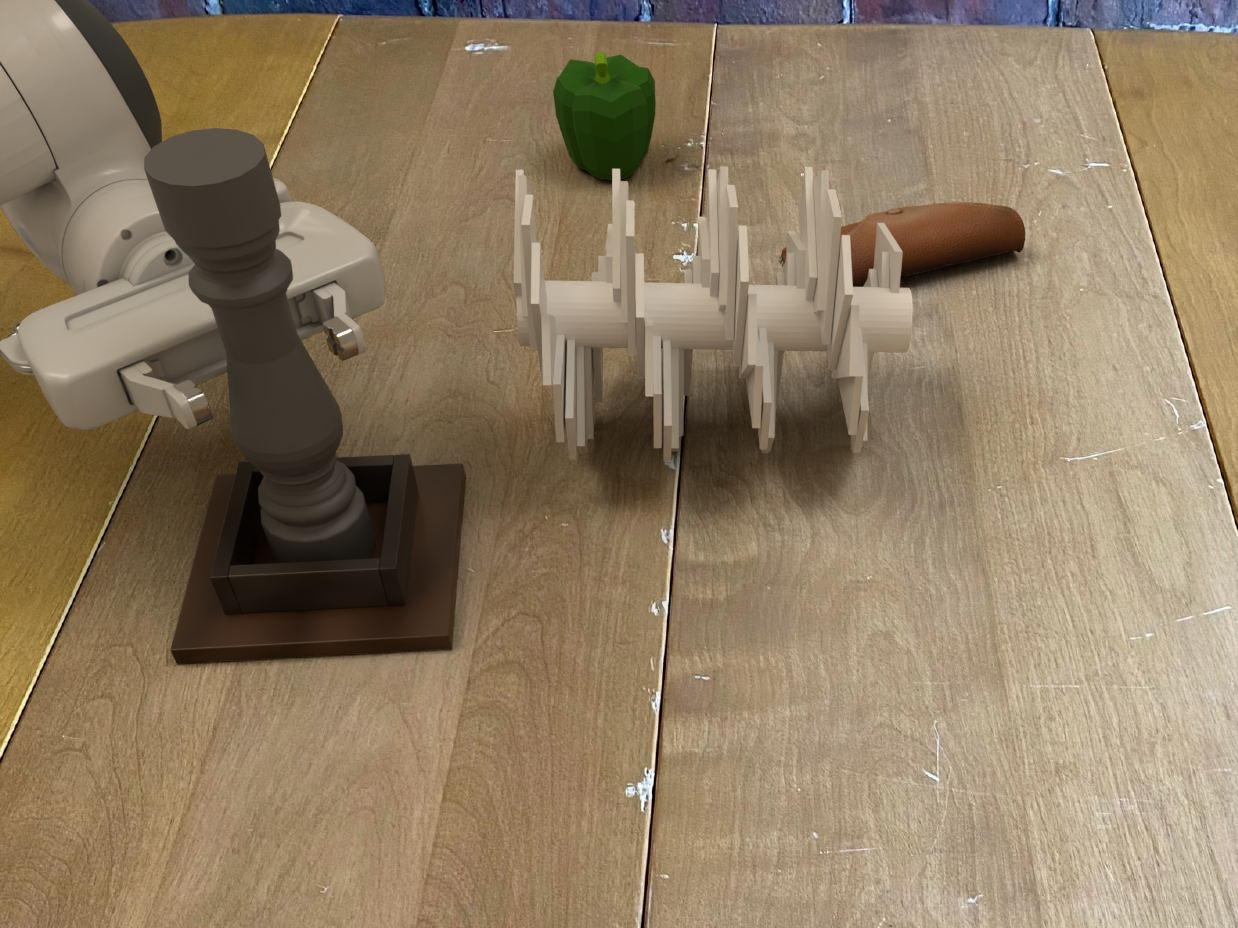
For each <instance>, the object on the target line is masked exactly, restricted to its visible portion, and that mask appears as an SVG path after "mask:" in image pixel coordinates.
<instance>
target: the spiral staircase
mask: <svg viewBox="0 0 1238 928" xmlns="http://www.w3.org/2000/svg"><path fill="white" fill-rule="evenodd" d="M707 171H708V172H707V173H708V174H707V193H706V210H705V211H706V213H705V216H698V218H697V221H698V223H697V255H693V256H692V263H691V268H690V269H684V274H683V275H684V276H683V282H647V281H646V282H645V252H644V253H640V252H638V253H637V252H636V221H635V220H636V216H635V215H636V213H635V210H636V209H635V200H629V199H630V195H629V193H630V192H629V190H630V189H629V186H630V185H629V182H628V180H621V179H620V169H612V180H611V181H612V182H611V185H612V189H611V191H612V192H611V195H612V197H611V199H612V202H611V204H612V207H611V208H612V215H611V216H612V218H611V219H612V220H611V222H612V223H607V231H606V242H605V243H606V244H605V255H598V257H597V258H598V259H597V265H598V266H597V267H598V269H597V270H598V271H591V275H590V276H591V279H590V280H591V281H590V280H589V281H588V280H550V279H549V280H546V279H545V278H546V277H545V270H544V263H543V254H542V247H541V242H537V229H536V212H535V199H534V198H535V197H534V194H533V187H532V186H533V184H532V182H531V181H530V179H529V177H528V176H527V175H525V170H524V169H515V186H514V187H515V189H514V190H515V191H514V236H513V237H514V242H513V288H514V294H515V301H516V327H517V328H516V329H517V336H518V344H519V347H529V351H531V352H537V356H538V360H539V361H538V363H539V369H540V375H541V376H542V386H552V394H553V397H552V398H553V412H554V413H553V415H554V428H555V442H556V443H565V435H566V442H567V453H568V454H567V455H568V459H569V460H577V456H578V454H577V451H578V452H579V455H580V456H588V450H589V449H588V447H589V446H588V440H594V436H595V422H596V408H595V407H596V404H595V403H603V402H604V401H603V400H604V399H603V397H604V396H603V395H604V391H603V389H604V350H603V348H604V349H605V348H608V349H609V348H610V349H627V355H628V357H632V356H633V357H636V378H637V379H644V381H645V382H644V383H645V384H644V386H645V389H644V392H645V393H644V394H645V397H652V398H653V399H652V401H653V403H652V404H653V405H652V406H653V408H652V409H653V414H652V415H653V449H662V445H663V450H662V451H663V453H662V454H663V462H664V463H665V462H666V463H671V462H672V453H678V452H679V450H680V437H684V413H685V411H684V408H685V407H684V404H685V398H684V397H690V396H691V381H692V380H691V378H692V355H693V354H692V353H693V350H722V351H725V350H726V351H732V367H734V368H735V367H737V368H739V369H738V371H739V372H738V374H739V375H738V378H739V379H745V382H746V390H747V398H748V404H749V412H750V421H751V427H752V429H757V430H758V431H757V433H758V447H759V450H761V454H770V451H771V449H772V446H773V443H774V440H775V437H776V413H777V412H776V411H777V408H778V407H779V403H780V402H779V401H780V393H781V382H782V381H781V380H782V374H783V364H784V355H785V352H826V353H827V354H826V355H827V370H829V371H831V380H837V383H838V388H839V392H840V399H841V403H842V408H843V413H844V418H845V423H846V427H847V433H848V435H849V436H850V451H851V452H852V453H853V454H861V453H862V448H863V446H864V445H865V444H866V443H867V442H868V419H869V414H870V406H869V405H870V404H869V396H868V395H869V394H868V387H869V382H870V381H869V380H870V375H871V370H872V365H873V360H874V356H875V353H893V354H894V353H896V354H897V353H899V354H900V353H901V354H902V353H904V354H906V353H907V352H908V350H909V347H910V344H911V338H912V331H913V319H914V318H913V317H914V316H913V314H914V313H913V311H914V309H913V306H914V305H913V296H912V291H911V289H910V288H909V287H901V277H902V276H901V266H902V254H903V252H902V250H901V248H900V247H899V245H898V244H897V242H896V241H895V239H894V237H893V236H892V234H891V233H890V231H889V230H888V228H887V227H886V225H885V223H877V232H876V245H875V257H874V268H873V269H869V273H868V279H867V281H866V283H865V284H864V286H863V287H853V282H852V263H851V244H850V235H842V237H841V242H840V235H841V226H842V225H843V224H842V223H843V215H842V211H841V208H840V203H839V198H838V195H837V191H836V189H835V188H830V169H825V170H824V169H820V171H819V173H818V174H817V175H816V177H815V178H814V173H813V171H814V170H813V166H804V169H803V176H802V182H801V188H800V195H799V200H798V201H799V202H798V232H799V233H798V235H799V236H798V235H797V233H796V232H795V230H787V231H786V247H787V248H786V261H785V264H783V268H782V271H776V274H775V275H776V277H775V284H750V267H749V245H748V244H749V243H748V225H740V224H739V223H738V221H739V203H738V196H737V191H736V186H735V184H729V166H728V165H727V166H723V165H720V166H719V171H718V174H717V169H712V168H709V169H708V170H707ZM839 246H840V247H839ZM662 436H663V437H662ZM662 439H663V440H662ZM662 442H663V443H662ZM577 449H578V450H577Z"/></svg>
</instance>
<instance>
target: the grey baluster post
mask: <svg viewBox="0 0 1238 928" xmlns="http://www.w3.org/2000/svg"><path fill="white" fill-rule="evenodd" d="M144 170H145V173H146V176H147V179H148V182H149V185H150V188H151V191H152V193H153V196H154V199H155V202H156V205H157V208H158V211H159V214H160V217H161V220H162V223H163V225H164V228H165V231H166V232H167V233H168V234H169V235H170V236H171V237H172V238H173V239H174V240H175V243H176V244H177V245H178V247H179V248H180V249H181V250H182V251H183V252H184V253H185V254H186V255H187V256H189V258H190V259H191V260H192V261H193V262H194V263H195V265H194V266H193V267H192V269H191V270H190V272H189V273H188V276H189V286H190V289H191V291H192V292H193V293H194V294H195V295H196V297H197V298H198V299H199V300H200V301H201V302H203V303H206V304H208V305H209V306H210V307H211V309H212V312H213V315H214V318H215V321H216V324H217V327H218V330H219V333H220V336H221V339H222V342H223V345H224V348H225V351H226V359H227V373H226V374H227V388H228V402H229V403H228V404H229V420H230V435H231V438H232V441H233V444H234V445H235V447H236V448H237V449H238V451H239V452H240V454H242V455H243V457H244V458H245V459H246V461H249V462H250V463H251V464H252V465H254V466H255V467H256V468H258V469H259V471H260V472H261V473H262V475H263V476H264V477H263V479H262V482H261V484H260V486H259V487H258V498H259V505H260V506H261V507H262V508H261V524H262V526H263V529H264V532H265V535H266V538H267V541H268V544H269V547H270V549H271V552H272V555H273V558H274V561H275V563H292V562H311V561H331V560H351V559H371V558H372V556H373V553H374V551H375V549H376V542H375V535H374V531H373V528H372V524H371V520H370V516H369V513H368V509H367V505H366V502H365V498H364V494H363V493H362V492H361V491H360V489H359V488H358V487H357V486H356V484H355V477H354V475H353V473H352V472H351V471H350V470H349V469H348V468H347V467H346V466H345V464H343V463H341V462H339V461H338V460H337V457H338V453H337V451H338V449H339V447H340V445H341V441H342V438H343V436H344V435H343V434H344V423H343V415H342V411H341V408H340V405H339V403H338V402H337V400H336V398H335V396H334V394H333V392H332V391H331V389H330V388H329V386H328V383H326V381H325V379H324V377H323V376H322V374H321V372H320V371H319V369H318V367H317V365H316V363H315V362H314V360H313V358H312V357H311V355H310V352H308V350H307V348H306V346H305V344H304V343H303V340H302V341H301V339H300V338H299V336H298V334H297V330H296V327H295V323H294V320H293V316H292V313H291V309H290V306H289V302H288V299H287V295H286V292H287V288H288V287H289V285H290V284H291V282H292V280H293V272H292V264H291V260H290V259H289V258H288V257H287V256H286V255H285V254H284V253H283V252H282V251H280V250H278V249H276V238H277V236H278V235H279V231H280V228H279V219H280V217H281V208H280V202H279V199H278V195H277V191H276V188H275V184H274V180H273V178H274V177H273V173H272V169H271V166H270V161H269V159H268V155H267V151H266V147H265V144H264V143H263V142H262V141H261V140H260V139H259V138H258V137H257V136H255V134H251V133H249V132H246V131H243V130H240V129H236V128H235V129H234V128H233V129H232V128H222V127H212V128H204V129H203V128H201V129H195V130H189V131H186V132H183V133H180V134H176V135H172V136H170V137H168V138H167V139H164V140H162V142H161V143H159V144H157V145H156V146H154V147H153V148H152V149H151V150H150V152H149V153H148V154H147V155H146V156H145V158H144Z"/></svg>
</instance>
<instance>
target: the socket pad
mask: <svg viewBox="0 0 1238 928" xmlns="http://www.w3.org/2000/svg"><path fill="white" fill-rule="evenodd" d="M337 460H338V461H339V462H341V463H343V464H345V466H346V467H347V468H348V469H349V470H350V471H351V472H352V473H353V475H354V477H355V484H356V486H357V487H358V488H359V489H360V491H361V492H362V493H363V494H364V498H365V502H366V505H367V509H368V513H369V516H370V520H371V524H372V528H373V531H374V535H375V542H376V549H375V551H374V553H373V556H372V558H371V559H351V560H331V561H311V562H292V563H275V561H274V558H273V555H272V552H271V549H270V547H269V544H268V541H267V538H266V535H265V532H264V529H263V526H262V524H261V508H262V507H261V506H260V505H259V498H258V487H259V486H260V484H261V482H262V479H263V477H264V476H263V475H262V473H261V472H260V471H259V469H258V468H256V467H255V466H254V465H252V464H251V463H250V462H249V461H248V460H246V461H237V466H236V470H235V473H225V474H223V473H222V474H215V477H214V481H213V484H212V488H211V491H210V492H211V493H210V495H209V499H208V503H207V504H208V505H207V507H206V511H205V516H204V520H203V522H202V523H203V524H202V527H201V531H200V535H199V538H198V541H197V546H196V550H195V553H194V558H193V561H192V565H191V569H190V573H189V577H188V581H187V585H186V589H185V592H184V596H183V598H182V599H183V600H182V603H181V608H180V611H179V615H178V619H177V622H176V627H175V631H174V634H173V639H172V643H171V646H170V650H169V651H170V654H171V655H172V657H173V660H174V661H175V664H176V665H181V664H184V665H185V664H202V663H219V662H221V663H222V662H237V661H239V662H240V661H257V660H275V659H276V660H277V659H292V658H311V657H312V658H313V657H314V658H315V657H331V656H347V655H351V656H352V655H367V654H384V653H385V654H386V653H387V654H388V653H402V652H423V651H441V650H451V649H452V648H453V640H454V629H455V616H456V613H455V612H456V603H457V593H458V580H459V568H460V556H461V544H462V541H461V540H462V531H463V530H462V529H463V518H464V504H465V492H466V482H467V480H466V479H467V476H466V471H465V465H464V463H442V464H441V463H439V464H419V465H414V464H413V460H412V456H411V454H410V453H402V454H382V455H363V456H362V455H361V456H360V455H359V456H337Z"/></svg>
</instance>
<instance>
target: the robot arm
mask: <svg viewBox="0 0 1238 928" xmlns="http://www.w3.org/2000/svg"><path fill="white" fill-rule="evenodd" d="M162 124H163V123H162V117H161V113H160V110H159V106H158V103H157V101H156V98H155V94H154V92H153V90H152V88H151V85H150V83H149V80H148V78H147V75H146V74H145V72H144V71H143V68H142V67H141V64H140V63H139V61H138V59H137V57H136V56H135V54H134V52H133V50H131V47H130V46H129V45H128V44H127V42H126V40H125V39H124V38H123V36H122V35H121V34H120V33H119V32H118V30H117V28H115V26H114V25H113V24H112V23H111V22H110V21H109V20H108V18H107V17H106V16H105V15H104V14H102V12H101V11H100V10H99V9H98V8H97V7H96V6H95V5H93V4H92V3H91V2H90V1H89V0H0V209H1V211H2V212H3V214H4V216H5V217H6V219H7V221H8V222H9V223H10V225H11V227H12V228H13V229H14V231H15V232H16V234H17V235H18V236H19V238H20V240H21V241H22V242H23V243H24V244H25V245H26V246H27V248H28V249H29V250H30V251H31V253H32V254H33V255H34V256H35V258H37V260H39V261H40V263H41V264H42V265H43V266H44V267H45V268H46V269H47V270H48V271H49V272H51V273H52V275H54V276H55V277H56V278H57V279H59V280H60V281H62V282H63V283H65V284H66V285H68V286H69V287H70V289H71V291H72V292H73V293H74V294H75V295H74V296H71V297H69V298H66V299H64V300H61V301H58V302H55V303H52V304H50V305H48V306H45V307H42V308H40V309H38V310H36V311H34V312H32V313H31V314H28V315H27V316H26V317H25V318H23V319H22V320H21V321H19V322H18V323H16V324H15V325H14V326H13V330H14V331H12V332H11V333H9V334H8V335H7V336H5V337H4V338H3V339H1V340H0V356H1V358H2V359H3V360H4V361H5V362H6V363H7V364H8V366H9V367H11V368H12V369H13V370H14V371H15V372H16V373H18V374H21V375H27V376H34V378H35V380H36V383H37V384H38V386H39V388H40V389H41V392H42V394H43V396H44V398H45V400H46V402H47V403H48V405H49V407H50V408H51V410H52V411H53V413H54V414H55V416H56V417H57V418H58V420H59V422H61V423H62V424H63V426H64V427H66V428H68V429H73V430H80V431H91V430H95V429H98V428H100V427H103V426H105V425H107V424H109V423H112V422H114V421H116V420H119V419H121V418H124V417H126V416H128V415H130V414H133V413H135V412H137V411H139V412H141V413H142V414H145V415H151V416H158V417H164V418H169V419H174V418H175V419H176V420H177V421H178V422H179V423H180V424H181V425H182V426H183V427H184V428H185V429H187V430H191V429H193V428H196V427H198V426H200V425H202V424H204V423H206V422H208V421H210V420H213V419H214V415H213V412H212V410H211V409H209V407H210V406H209V405H210V404H209V403H210V402H209V401H208V399H207V396H206V394H205V393H204V392H203V390H202V389H201V388H199V387H197V386H198V385H201V384H204V383H206V382H208V381H211V380H213V379H216V378H217V377H220V376H221V375H224V374H227V359H226V351H225V348H224V345H223V342H222V339H221V336H220V333H219V330H218V327H217V324H216V321H215V318H214V315H213V312H212V309H211V307H210V306H209V305H208V304H206V303H203V302H201V301H200V300H199V299H198V298H197V297H196V295H195V294H194V293H193V292H192V291H191V289H190V286H189V276H188V273H189V272H190V270H191V269H192V267H193V266H194V265H195V263H194V262H193V261H192V260H191V259H190V258H189V256H187V255H186V254H185V253H184V252H183V251H182V250H181V249H180V248H179V247H178V245H177V244H176V243H175V240H174V239H173V238H172V237H171V236H170V235H169V234H168V233H167V232H166V231H165V228H164V225H163V223H162V220H161V217H160V214H159V211H158V208H157V205H156V202H155V199H154V196H153V193H152V191H151V188H150V185H149V182H148V179H147V176H146V173H145V170H144V158H145V156H146V155H147V154H148V153H149V152H150V150H151V149H152V148H153V147H154V146H156V145H157V144H159V143H161V142H163V125H162ZM273 180H274V184H275V188H276V191H277V195H278V199H279V202H280V208H281V217H280V219H279V228H280V231H279V235H278V236H277V238H276V249H278V250H280V251H282V252H283V253H284V254H285V255H286V256H287V257H288V258H289V259H290V260H291V264H292V272H293V280H292V282H291V284H290V285H289V287H288V288H287V292H286V295H287V299H288V302H289V306H290V309H291V313H292V316H293V320H294V323H295V327H296V330H297V334H298V336H299V338H300V339H301V341H302V342H303V341H304V340H307V339H308V338H311V337H313V336H316V335H318V334H320V333H323V332H324V334H325V335H326V336H327V337H326V343H327V347H328V350H329V352H331V354H333V355H334V356H337V357H338V359H339V360H340V361H341V362H344V361H347V360H350V359H352V358H353V357H356V356H359V355H361V354H365V353H366V352H367V345H366V341H365V337H364V333H363V331H362V329H361V327H360V325H359V324H358V323H357V322H356V321H355V320H354V319H356V318H358V317H361V316H363V315H365V314H367V313H370V312H372V311H375V310H377V309H379V308H381V307H382V306H383V305H384V303H385V302H386V301H385V300H386V296H387V281H386V277H385V271H384V267H383V264H382V260H381V257H380V254H379V252H378V249H377V247H376V245H375V244H374V243H373V242H372V241H371V239H369V238H368V237H367V236H365V235H364V234H363V232H361V231H359V230H358V229H357V228H355V227H353V226H352V225H351V224H349V223H348V222H347V221H346V220H343V219H342V218H341V217H339V216H338V215H335V214H334V213H332V212H331V211H329V210H327V209H326V208H323V207H321V206H319V205H316V204H315V203H314V204H313V203H310V202H306V201H295V200H294V201H293V199H292V196H291V193H290V191H289V189H288V186H287V185H286V184H285V183H284V182H283V181H282V180H280V179H278V178H276V177H273Z"/></svg>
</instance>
